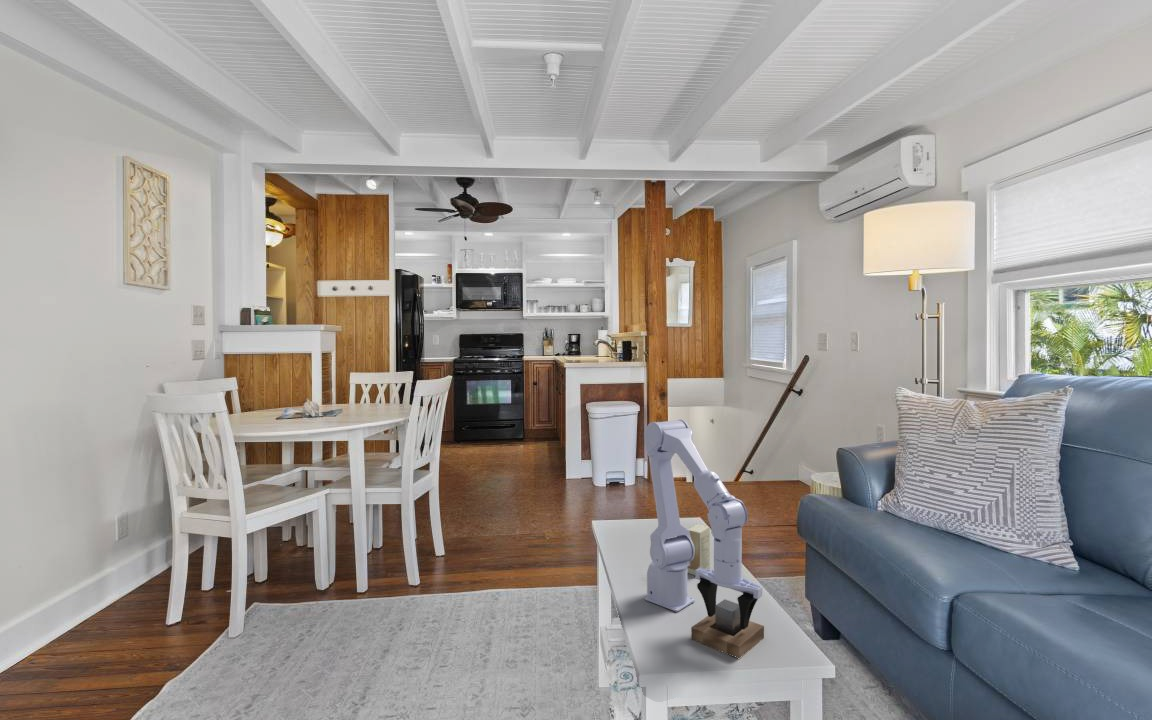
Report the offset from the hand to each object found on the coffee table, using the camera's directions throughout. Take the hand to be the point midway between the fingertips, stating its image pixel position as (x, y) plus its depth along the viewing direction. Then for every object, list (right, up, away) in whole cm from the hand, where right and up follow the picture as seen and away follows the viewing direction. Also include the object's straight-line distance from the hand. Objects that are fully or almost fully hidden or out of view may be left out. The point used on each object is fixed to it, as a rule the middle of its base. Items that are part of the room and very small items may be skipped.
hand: (727, 621), depth 116 cm
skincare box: (+1, -3, +35) cm, 35 cm away
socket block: (0, -4, 0) cm, 4 cm away
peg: (0, -4, 0) cm, 4 cm away
